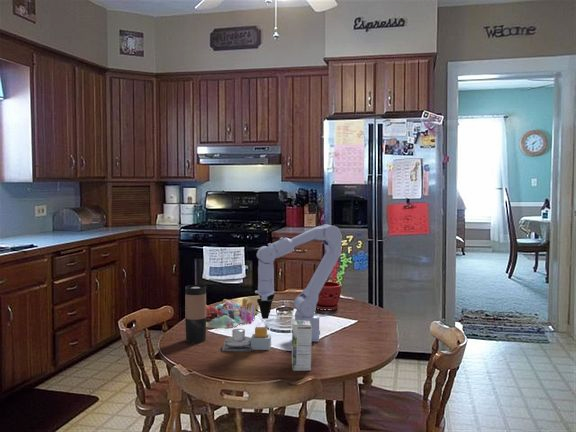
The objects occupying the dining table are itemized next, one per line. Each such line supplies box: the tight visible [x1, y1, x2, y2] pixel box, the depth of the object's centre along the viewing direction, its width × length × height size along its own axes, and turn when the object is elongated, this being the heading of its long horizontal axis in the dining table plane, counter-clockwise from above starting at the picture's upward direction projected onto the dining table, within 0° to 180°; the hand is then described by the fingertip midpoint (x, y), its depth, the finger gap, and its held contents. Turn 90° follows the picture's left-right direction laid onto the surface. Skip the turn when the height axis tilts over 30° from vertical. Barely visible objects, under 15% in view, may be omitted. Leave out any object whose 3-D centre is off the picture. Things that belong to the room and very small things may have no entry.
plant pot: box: [316, 280, 342, 310], centre depth 244 cm, size 13×13×12 cm
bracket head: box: [250, 333, 272, 351], centre depth 189 cm, size 7×13×4 cm, turn 177°
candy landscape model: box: [206, 297, 256, 329], centre depth 222 cm, size 25×24×9 cm
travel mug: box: [184, 284, 207, 344], centre depth 193 cm, size 8×8×20 cm
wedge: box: [254, 326, 268, 338], centre depth 185 cm, size 2×4×7 cm, turn 86°
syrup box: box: [291, 320, 313, 372], centre depth 164 cm, size 6×6×14 cm
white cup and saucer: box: [221, 328, 253, 353], centre depth 186 cm, size 10×10×6 cm
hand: (266, 315), depth 193 cm, fingers open, 7 cm apart
